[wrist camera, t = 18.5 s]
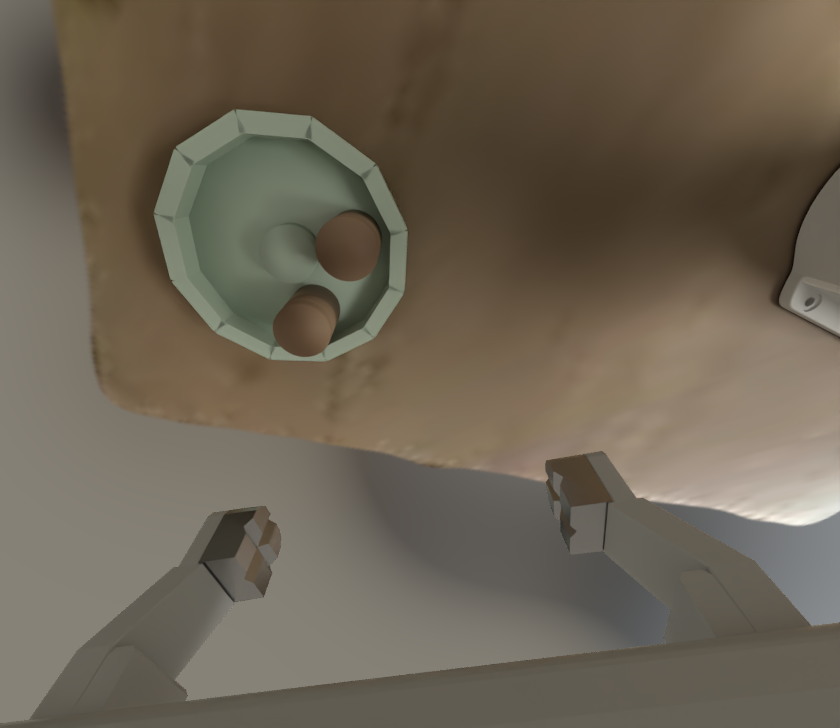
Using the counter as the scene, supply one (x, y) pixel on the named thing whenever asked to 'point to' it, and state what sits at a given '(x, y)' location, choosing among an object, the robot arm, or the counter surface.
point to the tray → (274, 227)
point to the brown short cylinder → (307, 321)
